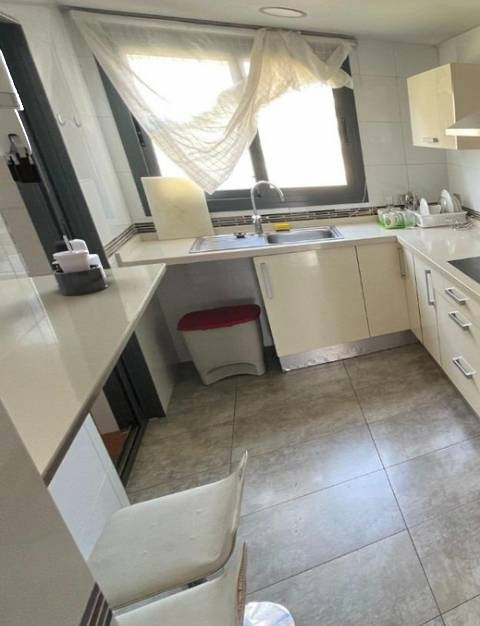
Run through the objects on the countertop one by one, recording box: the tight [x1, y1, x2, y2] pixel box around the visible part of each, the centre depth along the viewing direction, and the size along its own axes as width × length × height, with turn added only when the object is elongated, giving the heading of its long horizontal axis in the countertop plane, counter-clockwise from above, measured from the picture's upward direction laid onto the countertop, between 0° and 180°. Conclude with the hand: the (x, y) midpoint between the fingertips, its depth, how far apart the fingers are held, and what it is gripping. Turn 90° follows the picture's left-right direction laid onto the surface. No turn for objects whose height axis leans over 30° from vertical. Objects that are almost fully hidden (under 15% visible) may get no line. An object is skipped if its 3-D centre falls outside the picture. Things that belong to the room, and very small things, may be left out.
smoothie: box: [52, 235, 90, 273], centre depth 118 cm, size 6×6×14 cm
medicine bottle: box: [51, 238, 107, 280], centre depth 125 cm, size 7×7×12 cm
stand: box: [51, 264, 109, 297], centre depth 120 cm, size 9×9×6 cm
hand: (27, 181), depth 108 cm, fingers open, 9 cm apart
